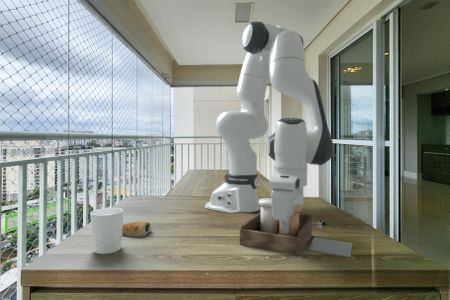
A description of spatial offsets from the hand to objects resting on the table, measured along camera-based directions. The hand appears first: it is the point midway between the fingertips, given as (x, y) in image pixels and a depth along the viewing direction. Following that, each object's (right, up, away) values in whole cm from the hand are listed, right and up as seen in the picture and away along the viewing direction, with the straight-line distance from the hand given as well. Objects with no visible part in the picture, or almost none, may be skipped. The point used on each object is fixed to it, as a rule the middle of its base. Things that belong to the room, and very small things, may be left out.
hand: (289, 228), depth 81 cm
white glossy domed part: (-4, -3, +7) cm, 9 cm away
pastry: (-44, -4, +9) cm, 45 cm away
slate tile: (+10, -5, -3) cm, 12 cm away
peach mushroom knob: (0, -4, 0) cm, 4 cm away
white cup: (-48, -5, -4) cm, 48 cm away
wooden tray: (-3, -4, +2) cm, 6 cm away
